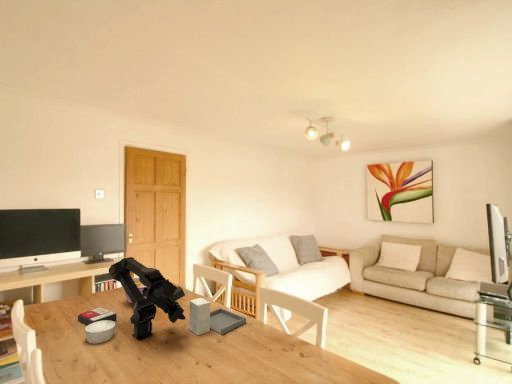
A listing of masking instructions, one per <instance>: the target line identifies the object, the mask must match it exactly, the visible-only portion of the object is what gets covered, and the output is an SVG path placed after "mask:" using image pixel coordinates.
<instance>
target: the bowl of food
mask: <svg viewBox="0 0 512 384" xmlns="http://www.w3.org/2000/svg"><path fill="white" fill-rule="evenodd" d="M132 279H133V281H134V282H135V284H136V285H137V287H138V289H139V290H140V292H141V293H142V291H143V289H144V288H145V287H146V288H148V287H147V286H144V285H143V284H142V283H141V282H140V281H139V277H134V278H132ZM123 290H124V289H123ZM124 295H125V299H126V300H127V301H128V302H129V303H131V304H133V303H132V301H131V300H130V298H129V296H128V295H127V293H126V291H125V290H124ZM144 298H147V297H146V296H144Z"/></svg>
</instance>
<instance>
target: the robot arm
mask: <svg viewBox="0 0 512 384" xmlns="http://www.w3.org/2000/svg"><path fill="white" fill-rule="evenodd" d="M131 273H133V274H134V275H135V276H137V278H139V281H140V282H141V283H142V284H143V285H144V286H147V287H148V288H146V287H145V288H144V289H143V291H142V293H141V292H140V290H139V289H138V287H137V285H136V284H135V282H134V281H133V279H134V278H132V276H131ZM108 275H109V276H110V277H111V278H112V279H113V280H115V281H116V282H119V283H120V284H121V286H122V288H123V290H125V291H126V293H127V295H128V296H129V298H130V300H131V301H132V303H131V304H132V306H133V310H132V315H131V317H129V319H130V324H131V325H133V333H132V334H131V336H132V337H133V338H135V339H136V340H138V341H141V340H143V339H146V338H149V337H151V336H153V335H154V333H152V332H153V322H152V320H155V318H156V315H157V308H158V309H161V310H162V311H163V313H164V314H167V318H168V320H169V322H171V323H172V324H175V323H176V322H177V320H182V321H184V320H186V316H185V315H184V313H185V309H184V308H183V307H182V305H181V304H180V303H179V302H178V300H180V299H182V298H183V297H185V296H186V294H185V292H184V290H183V288H182V287H181V286H179V285H178V286H177V285H174V284H173V283H172V282H171V281H170V280H169V278H167V279H166V277H164V276H163V274H162V272H161V271H160V270H159V269H157V268H154V267H147V266H146V265H144V264H142V263H141V262H140V261H138V260H136V259H135V258H134V257H133V256H129V257H124V258H122V259H120V260H118V261H117V262H115V263H113V264H111V265H110V267H109V268H108ZM125 291H124V292H125ZM144 296H146V297H147V298H144Z"/></svg>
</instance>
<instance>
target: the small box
mask: <svg viewBox="0 0 512 384" xmlns="http://www.w3.org/2000/svg"><path fill="white" fill-rule="evenodd" d="M210 312H211V302H210V301H208V300H206V299H205V298H203V297H198V298H194V299H190V300H189V316H188V317H189V318H188V319H189V320H188V321H189V322H188V323H189V325H188V330H190V331H192V332H193V333H194V334H195V335H196V336H200V335H203V334H206V333H208V332H210V331H211V329H210Z"/></svg>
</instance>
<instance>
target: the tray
mask: <svg viewBox="0 0 512 384" xmlns="http://www.w3.org/2000/svg"><path fill="white" fill-rule="evenodd" d="M245 323H246V324H247V317H244V316H242V315H240V314H237V313H234V312H232V311H230V310H227V309H224V308H222V307H220V308H217V309H214V310H212V311H210V331H213V332H215V333H217V334H219V335H220V336H223V335H225V334H227V333H229V332H232V331H234V330H235V328H236V329H238V328H239V326H240V327H241V325H242V326H243V324H244V325H246V324H245ZM237 327H238V328H237ZM233 329H234V330H233Z"/></svg>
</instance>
